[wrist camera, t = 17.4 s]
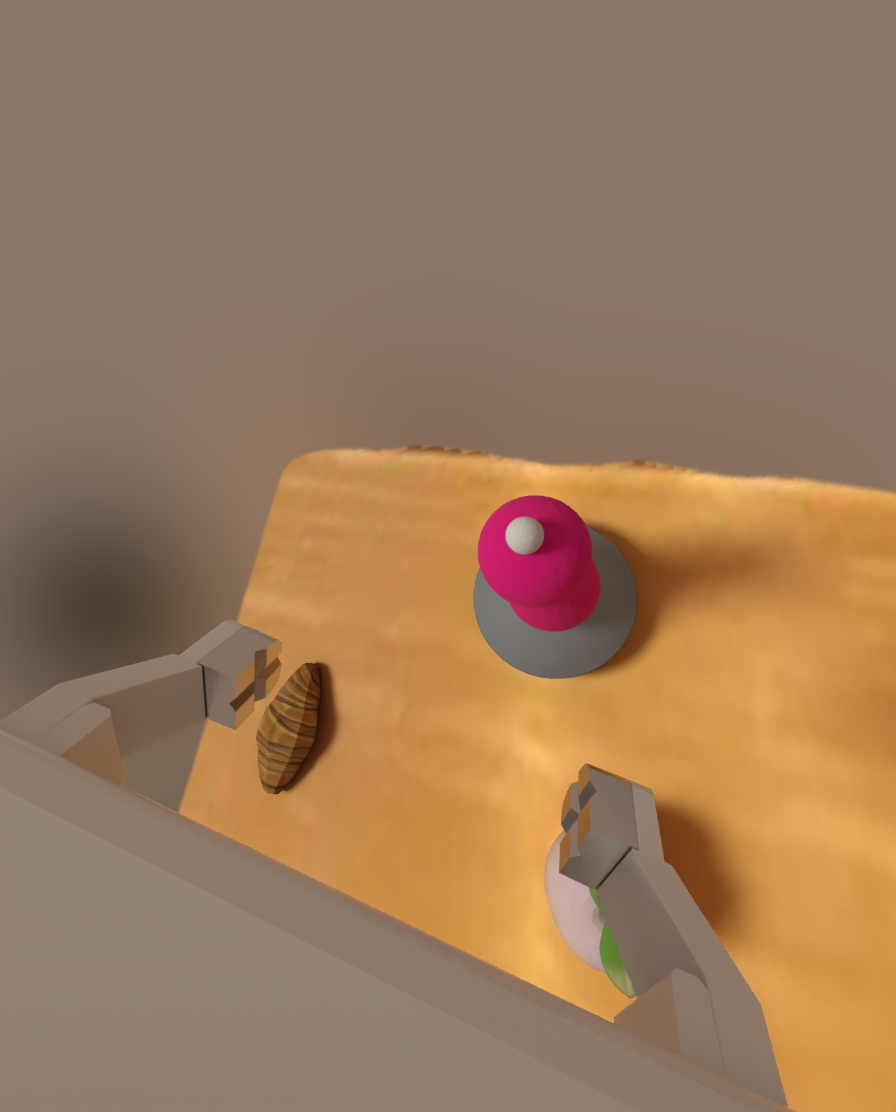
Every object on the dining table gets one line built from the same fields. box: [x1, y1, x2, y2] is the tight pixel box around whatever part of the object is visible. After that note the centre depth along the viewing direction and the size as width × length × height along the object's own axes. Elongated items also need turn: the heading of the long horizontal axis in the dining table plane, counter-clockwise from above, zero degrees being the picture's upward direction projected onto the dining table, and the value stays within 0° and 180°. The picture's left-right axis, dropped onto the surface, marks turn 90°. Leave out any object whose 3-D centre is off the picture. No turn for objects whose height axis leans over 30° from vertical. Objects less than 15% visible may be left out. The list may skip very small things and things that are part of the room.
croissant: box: [256, 663, 321, 794], centre depth 44 cm, size 14×7×5 cm, turn 163°
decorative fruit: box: [545, 831, 636, 998], centre depth 30 cm, size 9×8×10 cm
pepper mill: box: [478, 496, 601, 632], centre depth 28 cm, size 7×7×20 cm
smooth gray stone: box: [473, 526, 637, 679], centre depth 39 cm, size 14×14×3 cm
